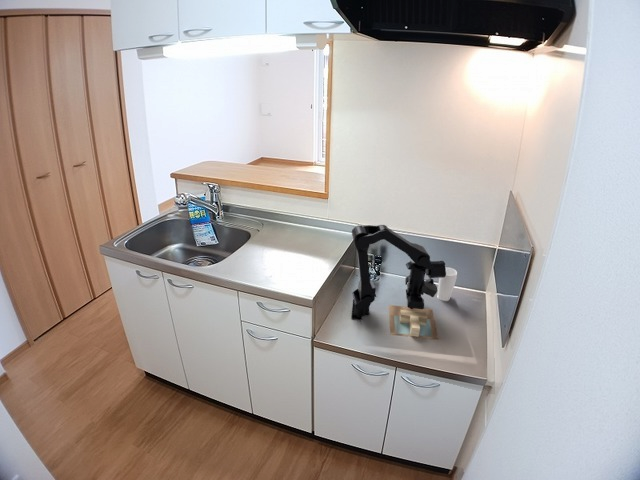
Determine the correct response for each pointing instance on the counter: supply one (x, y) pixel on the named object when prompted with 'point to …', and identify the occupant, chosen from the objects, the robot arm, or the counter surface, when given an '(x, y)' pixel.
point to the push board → (403, 328)
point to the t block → (413, 320)
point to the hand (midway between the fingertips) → (411, 308)
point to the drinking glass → (446, 284)
